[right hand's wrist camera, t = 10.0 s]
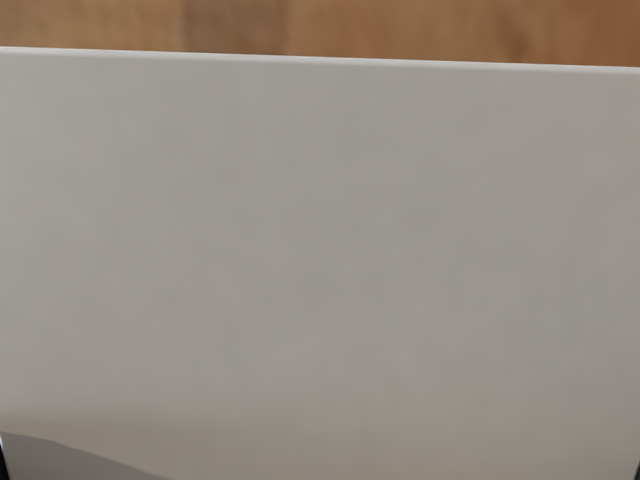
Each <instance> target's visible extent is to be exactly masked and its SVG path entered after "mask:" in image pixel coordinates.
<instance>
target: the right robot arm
mask: <svg viewBox="0 0 640 480" xmlns="http://www.w3.org/2000/svg"><path fill="white" fill-rule="evenodd" d="M0 480H10V479H9V475H8V471H7V468H6V464H5V460H4V456H3V452H2V448H1V444H0ZM635 480H640V467H639V470H638V473H637V476H636V478H635Z"/></svg>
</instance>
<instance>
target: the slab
mask: <svg viewBox="0 0 640 480" xmlns="http://www.w3.org/2000/svg"><path fill="white" fill-rule="evenodd" d="M0 444H1V448H2V452H3V456H4V460H5V464H6V468H7V471H8V475H9V479H10V480H635V478H636V476H637V473H638V470H639V467H640V67H613V66H583V65H552V64H522V63H491V62H461V61H431V60H400V59H370V58H339V57H309V56H279V55H248V54H218V53H188V52H157V51H127V50H96V49H66V48H36V47H5V46H0Z"/></svg>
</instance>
